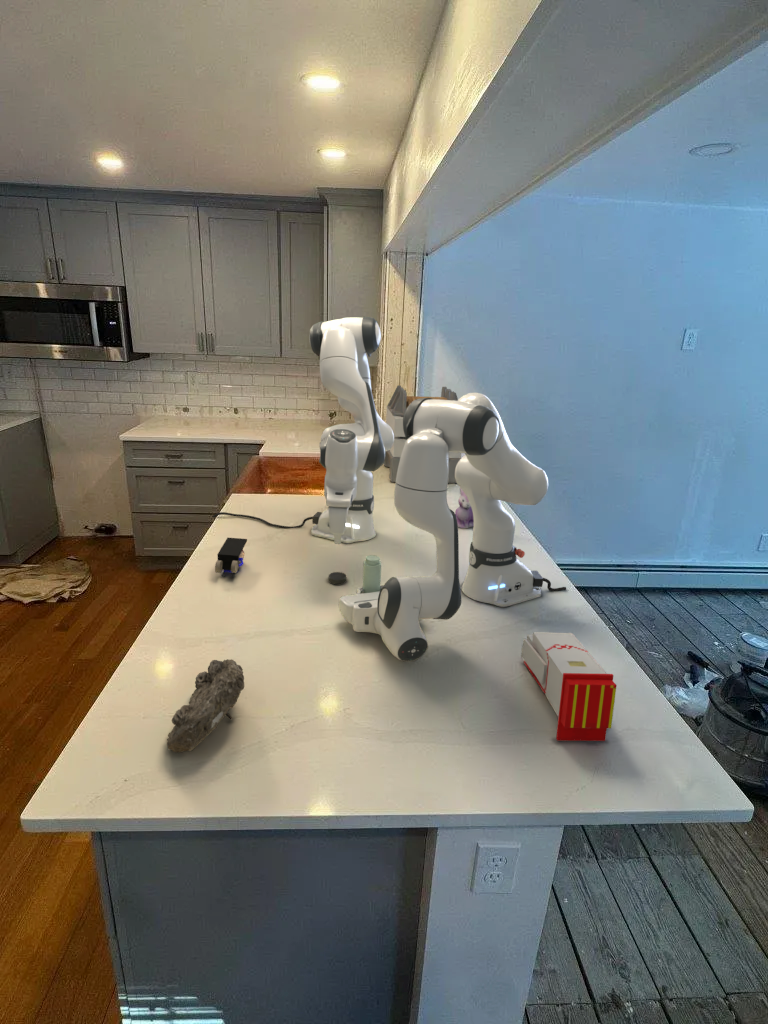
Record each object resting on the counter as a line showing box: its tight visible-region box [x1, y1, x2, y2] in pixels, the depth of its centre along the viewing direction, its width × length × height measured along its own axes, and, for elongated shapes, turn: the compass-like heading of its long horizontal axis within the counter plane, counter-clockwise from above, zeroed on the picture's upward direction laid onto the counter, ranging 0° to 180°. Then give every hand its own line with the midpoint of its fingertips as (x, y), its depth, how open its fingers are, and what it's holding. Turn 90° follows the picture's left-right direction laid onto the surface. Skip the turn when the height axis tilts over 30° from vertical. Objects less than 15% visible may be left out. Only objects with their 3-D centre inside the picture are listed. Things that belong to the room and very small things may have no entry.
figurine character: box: [214, 537, 248, 578], centre depth 166 cm, size 7×8×15 cm
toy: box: [520, 631, 618, 742], centre depth 117 cm, size 12×13×30 cm
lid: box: [327, 571, 348, 586], centre depth 164 cm, size 5×5×2 cm
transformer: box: [383, 384, 462, 484], centre depth 268 cm, size 34×33×41 cm
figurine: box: [454, 487, 474, 529], centre depth 209 cm, size 9×10×15 cm
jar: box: [362, 554, 382, 593], centre depth 147 cm, size 5×5×14 cm
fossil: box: [166, 658, 245, 754], centre depth 106 cm, size 22×10×15 cm
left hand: (338, 535), depth 160 cm, fingers open, 8 cm apart
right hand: (370, 589), depth 149 cm, fingers closed on jar, 5 cm apart
